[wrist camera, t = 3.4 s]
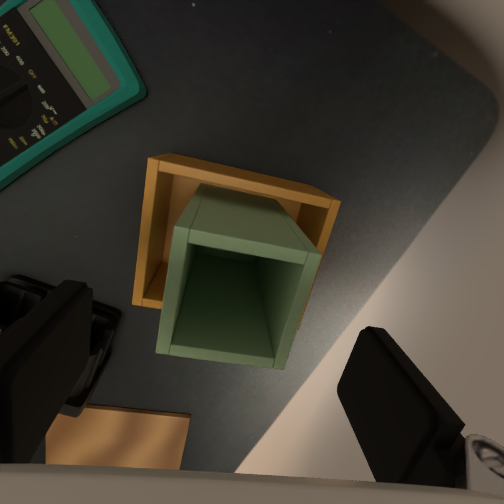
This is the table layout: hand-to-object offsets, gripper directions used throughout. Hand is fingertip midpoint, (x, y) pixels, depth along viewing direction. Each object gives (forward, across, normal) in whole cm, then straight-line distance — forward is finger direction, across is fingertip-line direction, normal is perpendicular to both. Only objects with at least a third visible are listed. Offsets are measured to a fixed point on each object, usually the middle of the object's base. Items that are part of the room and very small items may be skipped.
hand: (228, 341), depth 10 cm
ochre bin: (+15, 0, 0) cm, 15 cm away
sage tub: (+14, 0, 0) cm, 15 cm away
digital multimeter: (+16, +14, -6) cm, 22 cm away
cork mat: (+15, +6, +28) cm, 33 cm away
